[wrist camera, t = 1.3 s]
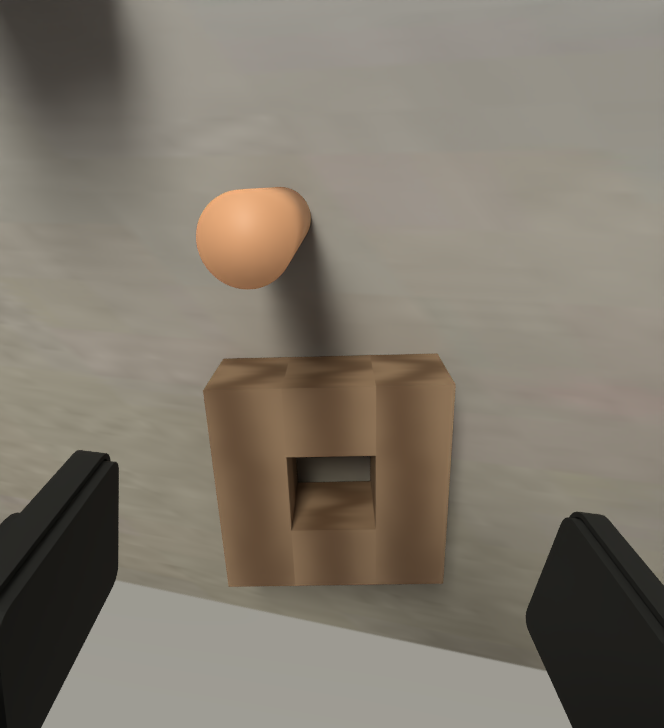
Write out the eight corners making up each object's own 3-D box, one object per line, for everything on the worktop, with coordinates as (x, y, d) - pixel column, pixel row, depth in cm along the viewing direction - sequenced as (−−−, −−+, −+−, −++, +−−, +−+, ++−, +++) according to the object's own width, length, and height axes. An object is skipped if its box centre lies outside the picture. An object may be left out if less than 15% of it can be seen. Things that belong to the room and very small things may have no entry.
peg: (309, 186, 33) (290, 188, 19) (312, 247, 34) (296, 288, 21) (249, 188, 33) (190, 191, 19) (254, 249, 34) (202, 290, 21)
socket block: (437, 353, 37) (455, 384, 31) (428, 529, 42) (443, 583, 36) (223, 358, 37) (203, 390, 31) (243, 533, 42) (228, 586, 37)
